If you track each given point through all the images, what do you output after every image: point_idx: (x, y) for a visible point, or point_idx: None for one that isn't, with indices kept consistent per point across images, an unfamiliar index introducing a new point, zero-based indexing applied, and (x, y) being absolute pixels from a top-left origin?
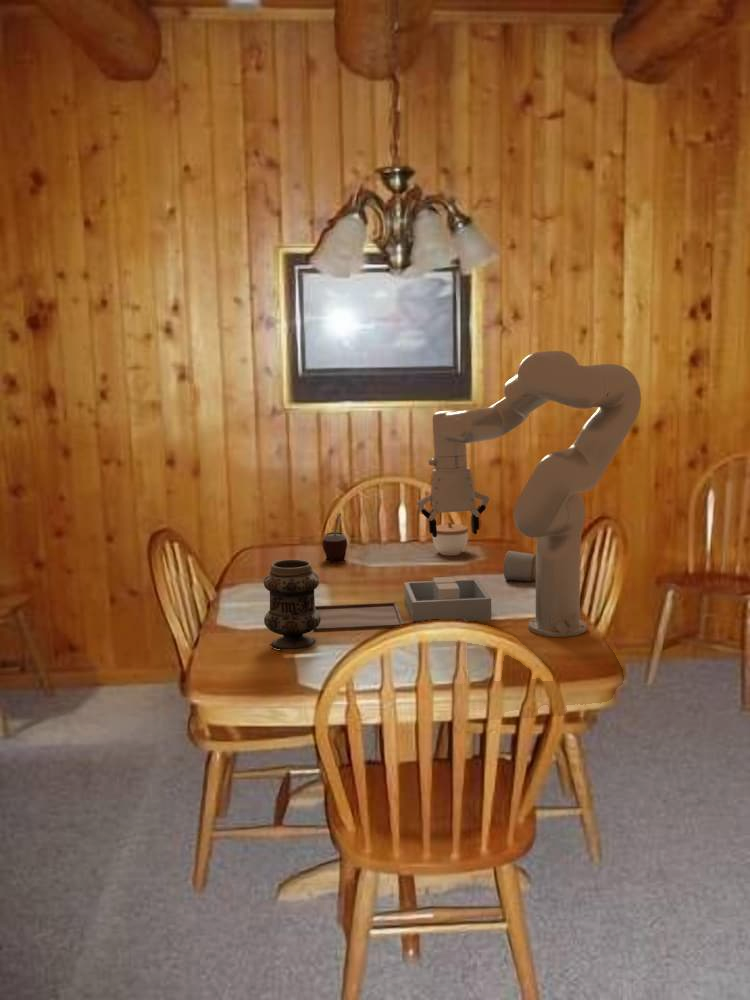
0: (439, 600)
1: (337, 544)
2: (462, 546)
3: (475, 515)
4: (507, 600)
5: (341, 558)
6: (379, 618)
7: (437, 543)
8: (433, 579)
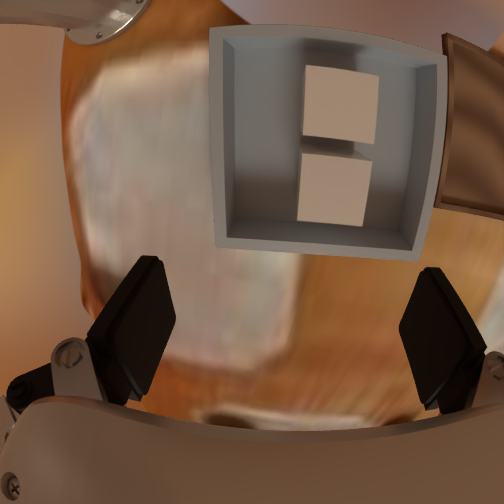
0: (374, 41)
1: None
2: None
3: (86, 355)
4: (161, 197)
5: None
6: (482, 113)
7: None
8: (363, 213)
